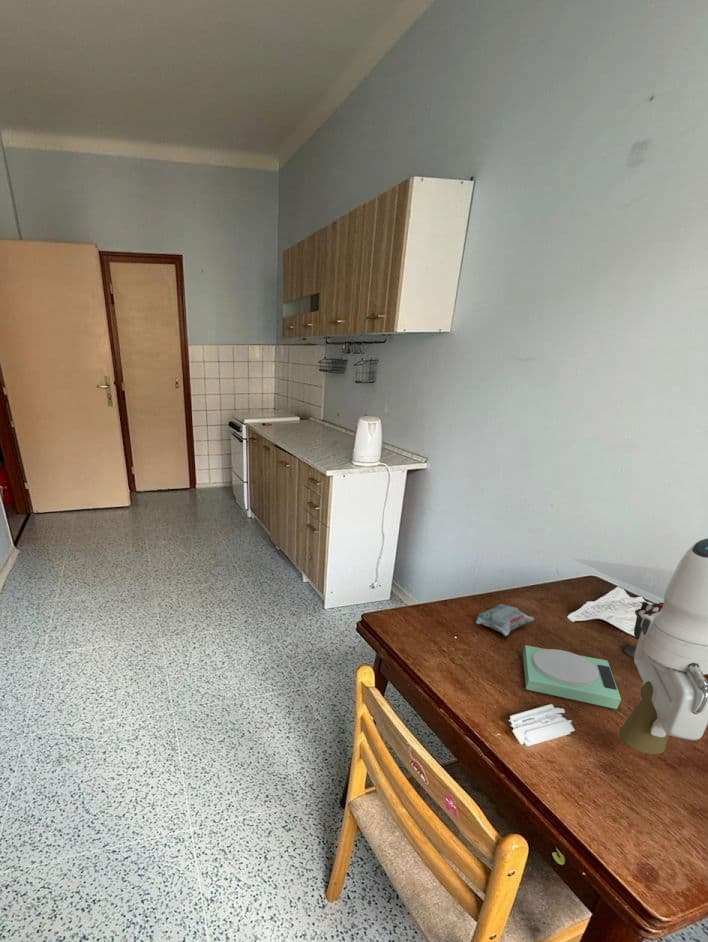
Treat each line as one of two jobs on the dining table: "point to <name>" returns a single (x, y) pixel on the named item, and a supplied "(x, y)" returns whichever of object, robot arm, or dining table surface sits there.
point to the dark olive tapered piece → (643, 725)
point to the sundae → (640, 613)
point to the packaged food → (503, 618)
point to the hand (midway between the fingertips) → (650, 720)
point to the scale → (570, 676)
